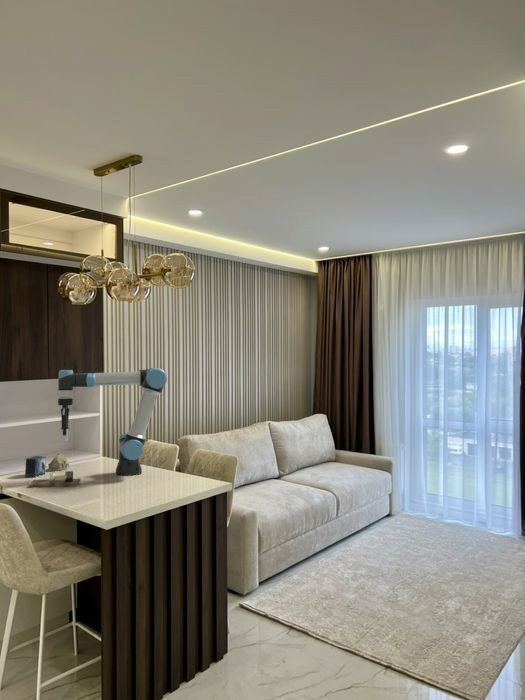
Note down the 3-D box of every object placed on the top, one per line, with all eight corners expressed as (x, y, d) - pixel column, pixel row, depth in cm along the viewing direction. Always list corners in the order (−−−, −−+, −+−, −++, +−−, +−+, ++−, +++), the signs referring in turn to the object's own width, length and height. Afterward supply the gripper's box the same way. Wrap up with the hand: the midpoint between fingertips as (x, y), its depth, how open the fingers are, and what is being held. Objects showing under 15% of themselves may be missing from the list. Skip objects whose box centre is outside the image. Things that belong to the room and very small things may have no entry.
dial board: (80, 481, 293) (80, 478, 294) (77, 486, 281) (77, 483, 281) (33, 482, 289) (33, 479, 289) (28, 487, 276) (28, 484, 276)
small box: (34, 477, 301) (35, 459, 302) (24, 477, 302) (25, 458, 303) (46, 474, 312) (46, 456, 312) (36, 473, 313) (36, 455, 313)
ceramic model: (61, 472, 318) (61, 455, 319) (43, 471, 320) (44, 454, 320) (72, 468, 332) (72, 451, 333) (55, 467, 334) (55, 451, 334)
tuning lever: (71, 479, 289) (71, 470, 289) (74, 480, 286) (74, 471, 286) (48, 482, 281) (48, 473, 281) (51, 483, 278) (51, 474, 278)
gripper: (60, 397, 300) (59, 439, 299) (56, 398, 287) (55, 442, 286) (74, 397, 301) (73, 439, 301) (71, 398, 289) (70, 442, 288)
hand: (64, 441), depth 294 cm, fingers closed
